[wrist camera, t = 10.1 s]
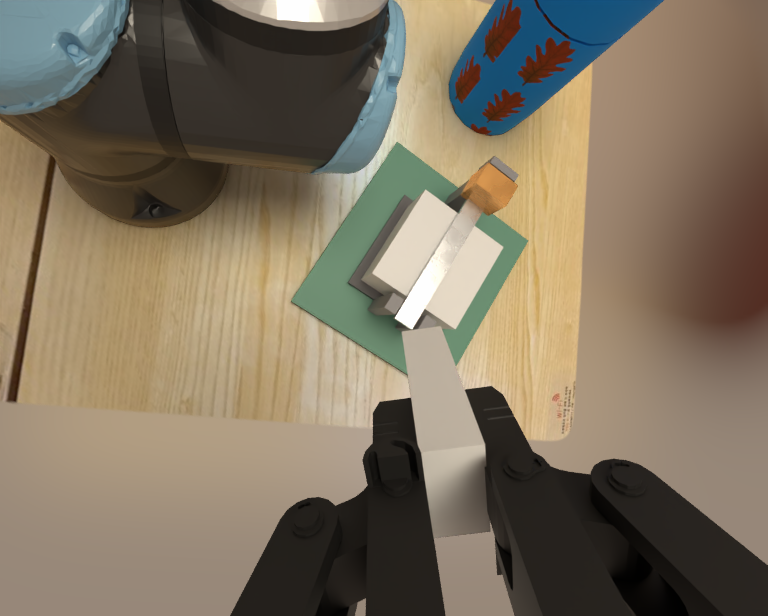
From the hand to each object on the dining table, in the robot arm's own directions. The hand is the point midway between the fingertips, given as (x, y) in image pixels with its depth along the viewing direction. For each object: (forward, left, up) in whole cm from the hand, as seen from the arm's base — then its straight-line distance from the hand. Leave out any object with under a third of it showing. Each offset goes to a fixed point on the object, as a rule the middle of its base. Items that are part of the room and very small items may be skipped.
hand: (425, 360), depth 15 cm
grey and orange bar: (+4, +12, -22) cm, 26 cm away
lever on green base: (+4, +11, -30) cm, 32 cm away
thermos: (0, +35, -30) cm, 47 cm away
